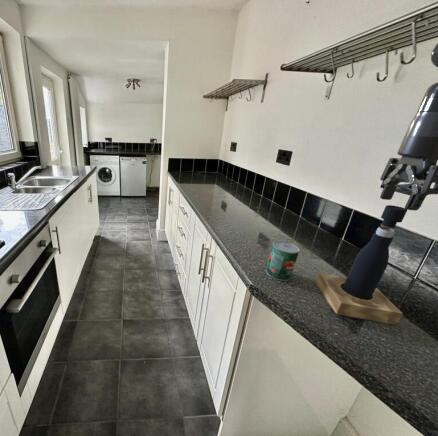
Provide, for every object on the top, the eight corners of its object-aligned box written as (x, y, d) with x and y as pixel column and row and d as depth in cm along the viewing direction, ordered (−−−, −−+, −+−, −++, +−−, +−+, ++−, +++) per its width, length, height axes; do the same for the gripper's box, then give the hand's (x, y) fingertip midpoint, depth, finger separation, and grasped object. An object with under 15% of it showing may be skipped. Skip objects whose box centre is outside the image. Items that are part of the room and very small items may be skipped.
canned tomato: (290, 284, 76) (300, 255, 72) (264, 276, 79) (272, 248, 75) (290, 271, 82) (299, 244, 78) (266, 265, 86) (273, 238, 82)
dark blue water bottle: (370, 312, 65) (422, 213, 54) (343, 306, 67) (387, 209, 56) (360, 297, 71) (405, 205, 59) (335, 292, 73) (374, 202, 61)
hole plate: (364, 290, 74) (369, 280, 72) (396, 324, 61) (403, 313, 60) (315, 283, 77) (319, 273, 75) (336, 314, 64) (341, 302, 63)
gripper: (486, 137, 44) (441, 216, 50) (423, 134, 57) (394, 197, 63) (437, 135, 45) (400, 212, 52) (387, 133, 58) (362, 194, 64)
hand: (396, 204), depth 57 cm, fingers open, 8 cm apart
